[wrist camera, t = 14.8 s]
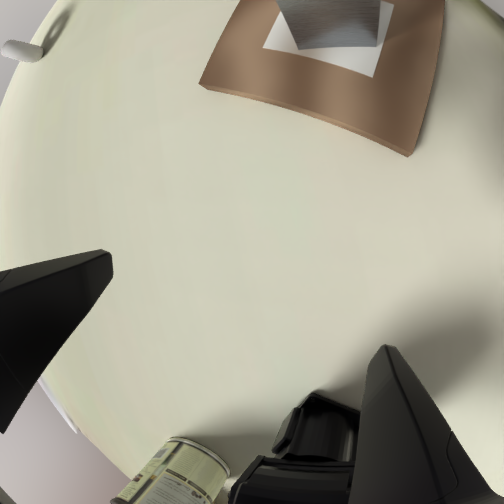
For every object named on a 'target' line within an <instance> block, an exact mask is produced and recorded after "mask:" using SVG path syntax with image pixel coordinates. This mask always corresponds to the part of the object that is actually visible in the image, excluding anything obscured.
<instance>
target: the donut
mask: <svg viewBox="0 0 504 504" xmlns="http://www.w3.org/2000/svg"><path fill="white" fill-rule="evenodd" d="M1 54H2V55H3V56H4V57H7V58H10V59H14V60H19V61H24V62H31V63H34V62H37V61H39V60H40V59H41V57H42V56H43V49H42V47H40V46H37V45H33V44H29V43H25V42H21V41H16V40H9V41H7V42H6V43H5V44H4V45H3V46H2V49H1Z"/></svg>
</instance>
